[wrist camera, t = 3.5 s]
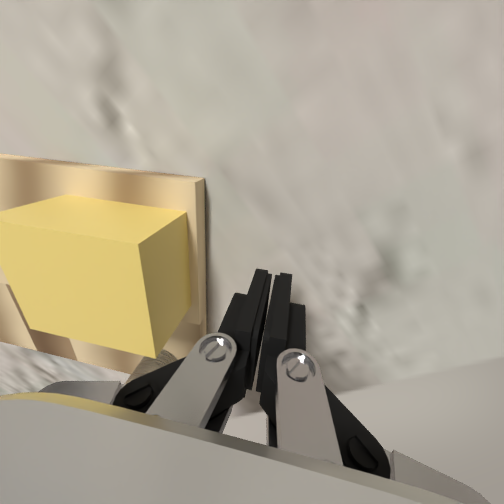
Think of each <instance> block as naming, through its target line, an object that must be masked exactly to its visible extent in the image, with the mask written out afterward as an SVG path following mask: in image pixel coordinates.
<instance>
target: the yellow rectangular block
mask: <svg viewBox="0 0 504 504" xmlns="http://www.w3.org/2000/svg"><path fill="white" fill-rule="evenodd" d="M0 266H1V268H2V270H3V272H4V274H5V276H6V278H7V281H8V283H9V285H10V287H11V289H12V291H13V293H14V295H15V298H16V300H17V302H18V304H19V306H20V308H21V310H22V312H23V315H24V317H25V319H26V321H27V323H28V325H29V327H30V329H33V330H37V331H42V332H46V333H50V334H54V335H58V336H63V337H67V338H71V339H75V340H79V341H84V342H88V343H92V344H96V345H100V346H105V347H109V348H113V349H117V350H121V351H126V352H130V353H134V354H138V355H142V356H147V357H151V358H155V359H156V358H157V356H158V355H159V353H160V352H161V350H162V349H163V347H164V346H165V344H166V343H167V341H168V340H169V338H170V337H171V335H172V334H173V332H174V331H175V329H176V328H177V326H178V325H179V323H180V322H181V320H182V319H183V317H184V316H185V314H186V313H187V311H188V310H189V308H190V306H191V288H190V268H189V249H188V229H187V212H186V211H179V210H172V209H164V208H157V207H150V206H143V205H136V204H129V203H122V202H115V201H108V200H101V199H94V198H87V197H80V196H73V195H62V196H58V197H54V198H50V199H47V200H43V201H39V202H35V203H31V204H28V205H24V206H20V207H16V208H12V209H8V210H5V211H1V212H0Z"/></svg>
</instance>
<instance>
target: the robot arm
mask: <svg viewBox="0 0 504 504" xmlns="http://www.w3.org/2000/svg"><path fill="white" fill-rule="evenodd" d="M271 278H272V274H268V270H262V269H256V271H255V274H254V277H253V280H252V282H251V285H250V288H249V291H248V294H247V295H246V294H240V293H235V294H234V296H233V298H232V300H231V303H230V305H229V307H228V310H227V312H226V314H225V316H224V319H223V321H222V323H221V326H220V328H219V330H218V333H210V334H207V335H205V336H203V337H202V338H201V339H200V340H199V341H198V342H197V343H196V344H195V346H194V347H193V348H192V350H191V351H190V353H189V354H188V355H187V356H186V357H184V358H181V359H179V360H177V361H174V362H172V363H170V364H168V365H165V366H163V367H161V368H159V369H156V370H154V371H152V372H150V373H147V374H145V375H143V376H140V377H138V378H136V379H134V380H132V381H130V382H129V383H127V384H121V383H120V381H62V382H56V383H53V384H51V385H48V386H46V387H45V388H43V389H42V390H40V391H39V392H26V393H16V394H8V395H2V396H0V504H490V503H489V502H488V501H487V500H486V499H485V498H484V497H483V496H482V495H481V494H480V493H478V492H477V491H475V490H474V489H472V488H471V487H469V486H467V485H465V484H463V483H461V482H459V481H457V480H455V479H453V478H451V477H449V476H447V475H445V474H443V473H440V472H438V471H436V470H434V469H432V468H430V467H428V466H426V465H424V464H422V463H420V462H418V461H416V460H414V459H412V458H410V457H408V456H405V455H403V454H401V453H399V452H397V451H395V450H393V451H392V453H391V452H389V451H387V450H385V449H383V447H382V446H381V445H380V443H379V442H378V441H377V440H376V438H375V437H374V436H373V435H372V434H371V433H370V432H369V431H368V430H367V429H366V428H365V427H364V426H363V425H362V424H361V423H360V422H359V420H357V418H356V417H355V416H354V415H353V414H352V413H351V412H350V411H349V410H348V409H347V408H346V407H345V406H344V405H343V404H342V403H341V402H340V400H338V398H337V397H336V396H335V395H334V394H333V393H332V392H331V391H330V390H329V389H328V388H327V387H326V386H325V385H324V382H323V378H322V373H321V369H320V366H319V364H318V362H317V360H316V359H315V358H314V357H313V356H312V355H311V354H309V353H308V352H306V321H305V305H300V304H295V303H290V294H291V282H292V274H287V273H280V275H275V280H274V285H273V290H272V295H271V300H270V305H269V309H268V314H267V307H268V300H269V293H270V285H271ZM266 315H267V319H266ZM265 322H266V324H265ZM264 327H265V329H264ZM263 332H264V335H263ZM262 337H263V341H262ZM261 342H262V349H261V356H260V364H259V371H258V379H257V386H256V391H257V392H261V396H260V403H259V404H260V405H261V407H262V408H263V410H264V411H265V412H266V414H267V420H266V421H267V422H266V424H267V446H266V445H263V444H259V443H255V442H251V441H247V440H243V439H240V438H237V437H233V436H229V435H225V434H222V433H223V430H224V428H225V425H226V423H227V421H228V418H229V416H230V414H231V411H232V407H233V405H234V404H235V403H237V402H239V401H240V400H242V399H243V398H245V394H246V389H249V390H252V386H253V381H254V376H255V371H256V366H257V361H258V356H259V351H260V347H261Z"/></svg>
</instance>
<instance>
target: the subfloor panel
mask: <svg viewBox="0 0 504 504" xmlns="http://www.w3.org/2000/svg"><path fill="white" fill-rule="evenodd" d="M62 195H73V196H80V197H87V198H94V199H101V200H108V201H115V202H122V203H129V204H136V205H143V206H150V207H157V208H164V209H172V210H179V211H186V212H187V229H188V249H189V268H190V288H191V306H190V308H189V310H188V311H187V313H186V314H185V316H184V317H183V319H182V320H181V322H180V323H179V325H178V326H177V328H176V329H175V331H174V332H173V334H172V335H171V337H170V338H169V340H168V341H167V343H166V344H165V346H164V347H163V350H166V351H168V352H170V353H171V354H173V355H174V356H175V357H176V358H177V359H178V360H179V359H181V358H184V357H186V356H187V355H188V354H189V353H190V351H191V350H192V348H193V347H194V346H195V344H196V343H197V342H198V341H199V340H200V339H201V338H202V337H203V336H205V335H207V319H206V250H205V182H204V178H199V177H191V176H183V175H174V174H166V173H157V172H149V171H141V170H132V169H124V168H116V167H107V166H99V165H91V164H82V163H74V162H66V161H57V160H49V159H40V158H32V157H24V156H15V155H7V154H0V212H1V211H5V210H8V209H12V208H16V207H20V206H24V205H28V204H31V203H35V202H39V201H43V200H47V199H50V198H54V197H58V196H62ZM0 341H1V342H5V343H9V344H13V345H17V346H21V347H25V348H29V349H33V350H37V351H41V352H45V353H48V354H52V355H56V356H60V357H64V358H68V359H72V360H76V361H80V362H84V363H88V364H92V365H96V366H100V367H104V368H108V369H112V370H116V371H120V372H124V373H128V374H132V373H133V371H134V370H135V368H136V367H137V365H138V364H139V363H140V361H141V360H142V358H143V357H144V356H142V355H138V354H134V353H130V352H126V351H121V350H117V349H113V348H109V347H105V346H100V345H96V344H92V343H88V342H84V341H79V340H75V339H71V338H67V337H63V336H58V335H54V334H50V333H46V332H42V331H37V330H33V329H30V327H29V325H28V323H27V321H26V319H25V317H24V315H23V312H22V310H21V308H20V306H19V304H18V302H17V300H16V298H15V295H14V293H13V291H12V289H11V287H10V285H9V283H8V281H7V278H6V276H5V274H4V272H3V270H2V268H1V266H0Z"/></svg>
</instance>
